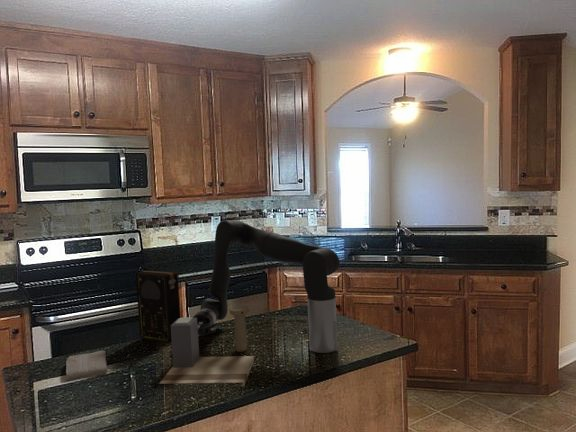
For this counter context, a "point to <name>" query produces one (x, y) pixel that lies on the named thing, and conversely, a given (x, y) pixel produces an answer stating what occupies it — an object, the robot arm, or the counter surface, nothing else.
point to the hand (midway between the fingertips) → (190, 336)
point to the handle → (240, 327)
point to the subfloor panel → (212, 371)
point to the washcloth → (86, 365)
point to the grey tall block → (185, 342)
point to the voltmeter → (157, 304)
